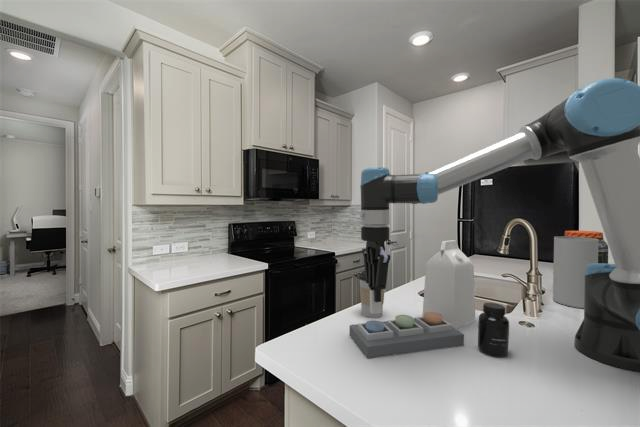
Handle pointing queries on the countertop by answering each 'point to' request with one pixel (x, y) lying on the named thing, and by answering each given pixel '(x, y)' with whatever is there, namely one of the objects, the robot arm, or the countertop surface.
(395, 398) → the countertop surface
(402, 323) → the button sage
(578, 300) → the cylinder vase
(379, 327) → the button slate
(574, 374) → the countertop surface
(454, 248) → the milk
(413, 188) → the robot arm
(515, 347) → the countertop surface
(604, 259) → the supplement tub
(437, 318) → the button terracotta
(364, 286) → the coffee cup
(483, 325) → the supplement bottle
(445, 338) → the panel
